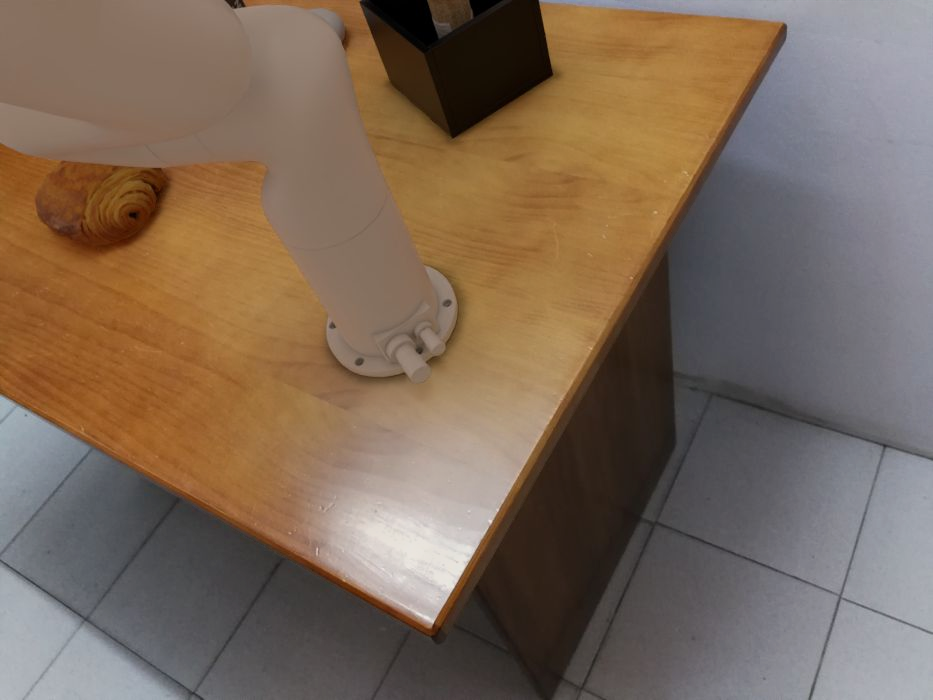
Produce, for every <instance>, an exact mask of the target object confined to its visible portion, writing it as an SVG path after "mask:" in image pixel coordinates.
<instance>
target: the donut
mask: <svg viewBox="0 0 933 700" xmlns="http://www.w3.org/2000/svg"><path fill="white" fill-rule="evenodd" d="M307 10H309V11H311V12H314V13H315V14H317V15H319V16H320V17H322V18H323V19H325V20H326V21H327V22H328V23H329V24H330V25H331V26H332V28H333V29H334V30H335V32H336V33H337V35H338V37H339V38H340V40H341V43H342V44H343V41H344V39H345V36H346V27H345V23H344V20H343V19H342V18H341V17H340V15H339V14H338V13H337V12H335V11H333V10H331V9H328V8H323V7H315V8H314V7H313V8H307Z"/></svg>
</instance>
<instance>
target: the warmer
mask: <svg viewBox="0 0 933 700" xmlns="http://www.w3.org/2000/svg"><path fill="white" fill-rule="evenodd" d="M358 3H359V6H360V8H361V10H362V13H363V16H364V18H365V21H366V23H367V26H368V29H369V32H370V34H371V37H372V39H373V41H374V44H375V47H376V50H377V52H378V55H379V56H380V60H381V63H382V65H383V68H384V70H385V72H386V75H387V77H388V80H389V83H390V84H391V85H392V86H393V87H394V88H395V89H396V90H397V91H398V92H399V93H401V95H403V96H404V97H405V98H407V100H409V101H410V102H411V103H412V104H413V105H414V106H416V108H418V109H419V110H420V111H421V112H422V113H423V114H424V115H426V117H428V118H429V119H430V120H431V121H432V122H433V123H434V124H436V125H437V126H438V127H439V128H440V129H441V130H442V131H443V132H444V133H446V135H448V136H449V137H450V138H451V139H454V138H456V137H458V136H460V135H461V134H463V133H464V132H465V131H467V130H469V129H470V128H471V127H474V126H475V125H477V124H478V123H480V122H481V121H483V120H484V119H486V118H487V117H489V116H491V115H493V114H495V113H496V112H497V111H499V110H500V109H502V108H503V107H506V106H507V105H508V104H510V103H512V102H513V101H514V100H516V99H518V98H519V97H521V96H522V95H524V94H525V93H527V92H529V91H530V90H532V89H534V88H535V87H537V86H538V85H540V84H542V83H543V82H545V81H546V80H548V79H549V78H551V77H553V75H554V72H553V68H552V61H551V58H550V51H549V46H548V41H547V35H546V31H545V25H544V20H543V15H542V9H541V4H540V0H469V3H470V6H471V9H472V12H473V16H474V18H473V19H471V20H470V21H468V22H466V23H465V24H463V25H461V26H460V27H458V28H456V29H455V30H453V31H452V32H450V33H448V34H447V35H445V36H443V37H442V38H440V39H439V38H438V35H437V32H436V29H435V25H434V22H433V19H432V14H431V11H430V7H429V4H428V1H427V0H359V1H358Z"/></svg>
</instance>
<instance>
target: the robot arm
mask: <svg viewBox="0 0 933 700" xmlns="http://www.w3.org/2000/svg"><path fill="white" fill-rule="evenodd" d="M0 144H2V145H3V146H5V147H7V148H9V149H11V150H13V151H15V152H18V153H21V154H24V155H26V156H30V157H34V158H37V159H38V158H39V159H45V160H54V161H60V162H61V161H72V162H82V163H93V164H104V165H115V166H127V167H144V168H162V169H163V168H177V167H187V166H197V165H207V164H218V163H243V162H250V163H251V162H252V163H258V164H262V165H263V166H264V167H265V168H266V171H265V173H264V176H263V180H262V184H261V189H260V201H261V207H262V210H263V213H264V216H265V218H266V220H267V221H268V223H269V226H270V227H271V229H272V230H273V231H274V233H275V235H276V236H277V238H278V239H279V241H280V242H281V243H282V245H283V247H284V249H285V250H286V252H287V253H288V255H289V256H290V257H291V259H292V261H293V262H294V264H295V265H296V267H297V268H298V270H299V271H300V273H301V274H302V277H303V278H304V280H305V281H306V282H307V284H308V286H309V287H310V289H311V290H312V292H313V293H314V295H315V296H316V299H318V301H319V303H320V305H321V306H322V307H323V309H324V310H325V312H326V314H327V315H328V316H327V319H326V325H325V333H326V334H325V336H326V342H327V345H328V347H329V349H330V351H331V353H332V354H333V356H334V357H335V359H336V360H337V361H338V362H339V363H340V365H341V366H343V367H344V368H346V369H347V370H349V371H350V372H353V373H354V374H357V375H361V376H366V377H369V378H371V377H372V378H386V377H387V378H388V377H392V376H398V375H401V374H403V373H404V374H406V375H407V377H408V378H409V379H410V381H411V383H413V384H416V385H419V384H422V383H424V382H426V381H427V380H428V379H429V378H430V377H431V374H432V368H431V367H430V365H429V364H428V363H427V361H429V360H430V359H431V358H433V357H439V356H441V355H442V354H443V353H445V352H446V349H447V344H446V343H447V342H448V341H449V339H450V338H451V336H452V333H453V331H454V329H455V327H456V325H457V324H456V323H457V319H458V316H459V314H458V313H459V305H458V300H457V295H456V293H455V290H454V289H453V286H452V284H451V282H450V281H449V280H448V279H447V277H446V276H444V275H443V274H442V272H440V271H438V270H437V269H435V268H433V267H431V266H428V265H425V264H424V261H423V260H422V257H421V255H420V253H419V250H418V249H417V246H416V244H415V242H414V240H413V237H412V235H411V233H410V230H409V228H408V226H407V224H406V221H405V219H404V217H403V215H402V213H401V210H400V208H399V206H398V204H397V201H396V199H395V197H394V194H393V192H392V190H391V188H390V185H389V183H388V181H387V179H386V177H385V175H384V172H383V171H382V168H381V166H380V164H379V161H378V158H377V157H376V154H375V151H374V149H373V147H372V144H371V142H370V140H369V136H368V133H367V131H366V128H365V125H364V121H363V119H362V115H361V111H360V108H359V104H358V100H357V96H356V91H355V86H354V81H353V77H352V73H351V68H350V64H349V60H348V57H347V52H346V50H345V48H344V45H343V42H342V43H341V40H340V38H339V37H338V35H337V33H336V32H335V30H334V29H333V28H332V26H331V25H330V24H329V23H328V22H327V21H326V20H325V19H323V18H322V17H320V16H319V15H317V14H315V13H314V12H311V11H309V10H308V8H307V9H306V8H303V7H300V6H295V5H288V4H260V5H252V6H251V5H250V6H246V7H243V8H237V9H232V8H231V7H230V5H229V4H228V3H227V2H226V1H225V0H0Z"/></svg>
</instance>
